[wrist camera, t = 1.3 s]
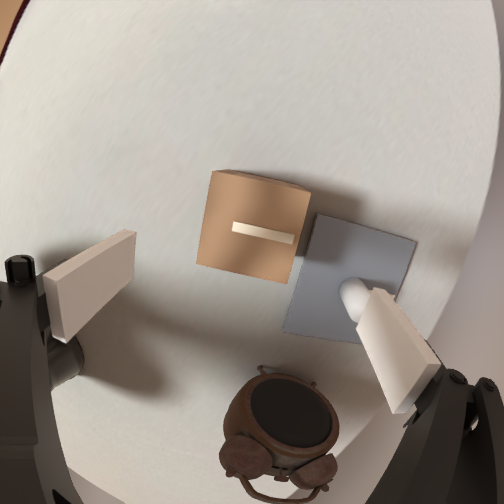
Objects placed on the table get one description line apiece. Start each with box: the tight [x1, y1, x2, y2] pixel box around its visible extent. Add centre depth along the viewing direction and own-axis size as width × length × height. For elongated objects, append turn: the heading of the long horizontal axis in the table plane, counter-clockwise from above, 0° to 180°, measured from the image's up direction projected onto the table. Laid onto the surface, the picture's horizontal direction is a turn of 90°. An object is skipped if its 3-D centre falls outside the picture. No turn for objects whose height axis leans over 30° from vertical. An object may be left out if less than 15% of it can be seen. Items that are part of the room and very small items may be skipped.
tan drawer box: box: [196, 170, 311, 284], centre depth 26 cm, size 8×8×8 cm
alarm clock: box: [219, 366, 339, 504], centre depth 28 cm, size 15×7×20 cm, turn 68°
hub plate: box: [283, 213, 416, 344], centre depth 29 cm, size 13×15×6 cm
